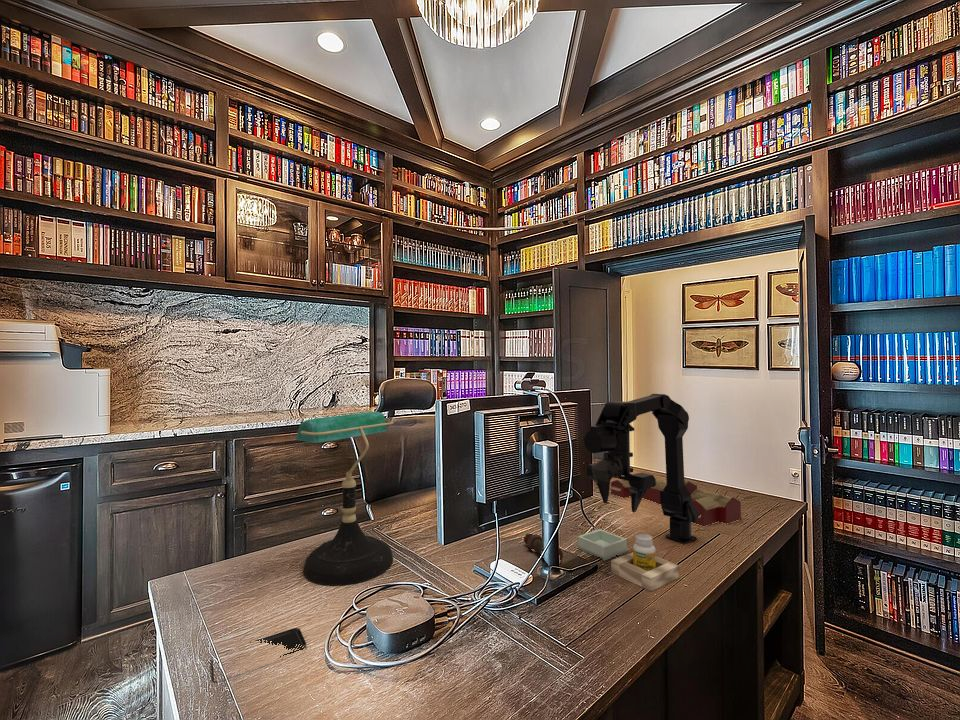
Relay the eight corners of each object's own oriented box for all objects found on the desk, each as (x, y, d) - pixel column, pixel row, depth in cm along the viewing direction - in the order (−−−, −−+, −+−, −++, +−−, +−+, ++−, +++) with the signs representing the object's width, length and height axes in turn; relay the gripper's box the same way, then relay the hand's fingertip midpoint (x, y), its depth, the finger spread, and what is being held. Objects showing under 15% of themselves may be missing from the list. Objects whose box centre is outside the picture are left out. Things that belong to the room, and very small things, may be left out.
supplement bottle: (655, 571, 111) (654, 533, 111) (657, 581, 106) (656, 542, 106) (633, 569, 113) (632, 531, 113) (633, 578, 108) (633, 539, 108)
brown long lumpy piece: (530, 550, 129) (557, 571, 115) (517, 544, 128) (542, 564, 114) (538, 532, 130) (566, 549, 116) (525, 525, 129) (551, 542, 115)
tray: (600, 540, 131) (600, 529, 131) (627, 551, 123) (627, 539, 123) (577, 548, 126) (577, 536, 126) (604, 560, 118) (604, 547, 118)
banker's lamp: (360, 538, 134) (360, 408, 135) (415, 557, 121) (414, 412, 122) (278, 572, 113) (278, 417, 113) (334, 599, 99) (333, 423, 100)
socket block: (639, 560, 117) (639, 549, 117) (679, 577, 108) (678, 565, 108) (611, 572, 111) (611, 560, 111) (651, 591, 101) (650, 578, 101)
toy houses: (745, 519, 148) (745, 489, 148) (708, 531, 138) (708, 499, 138) (638, 488, 187) (638, 464, 187) (603, 495, 177) (603, 470, 177)
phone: (307, 647, 81) (213, 679, 73) (307, 653, 81) (213, 686, 73) (298, 626, 88) (211, 654, 80) (298, 631, 88) (211, 660, 80)
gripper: (571, 447, 120) (572, 504, 120) (628, 458, 104) (629, 524, 104) (598, 442, 126) (599, 496, 126) (656, 453, 111) (657, 514, 111)
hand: (619, 507), depth 117 cm, fingers open, 9 cm apart
